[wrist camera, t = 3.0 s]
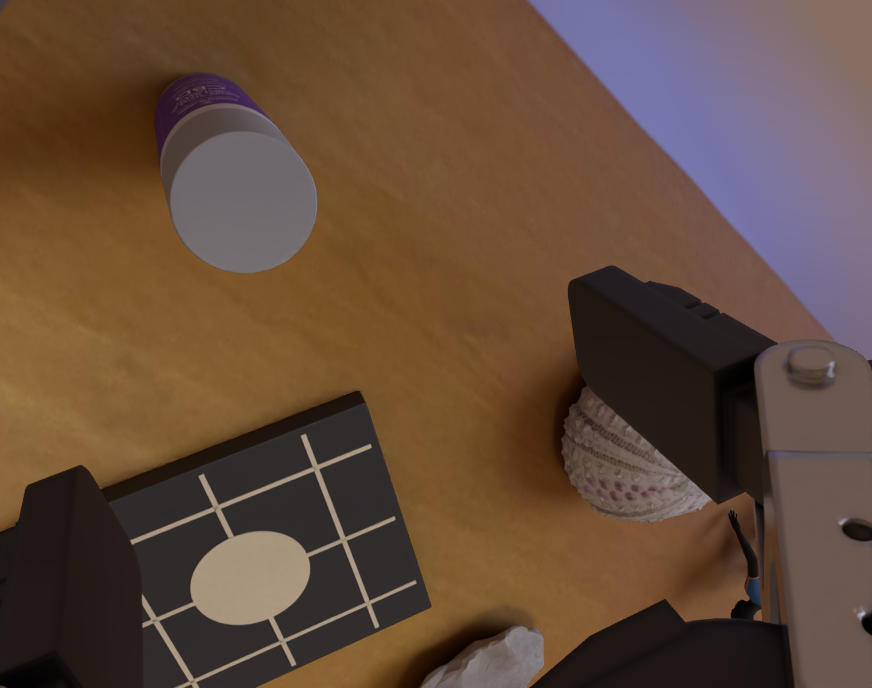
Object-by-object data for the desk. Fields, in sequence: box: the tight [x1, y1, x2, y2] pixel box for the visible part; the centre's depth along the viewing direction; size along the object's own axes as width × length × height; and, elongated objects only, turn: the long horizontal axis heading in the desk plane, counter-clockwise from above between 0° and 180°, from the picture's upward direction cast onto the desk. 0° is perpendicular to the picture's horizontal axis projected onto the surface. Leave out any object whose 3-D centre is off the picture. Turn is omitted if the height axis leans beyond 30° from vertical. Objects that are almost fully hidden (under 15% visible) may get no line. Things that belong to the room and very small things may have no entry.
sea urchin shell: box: [561, 385, 712, 524], centre depth 50 cm, size 13×14×8 cm
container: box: [155, 73, 317, 273], centre depth 29 cm, size 5×5×15 cm
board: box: [16, 391, 431, 688], centre depth 46 cm, size 20×18×2 cm
